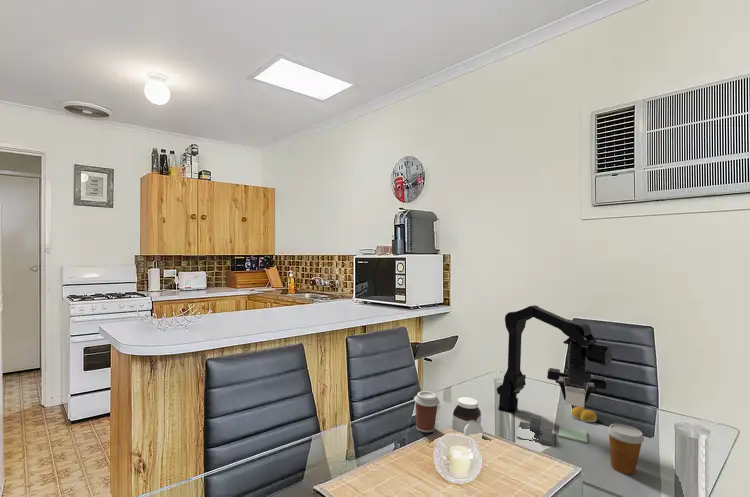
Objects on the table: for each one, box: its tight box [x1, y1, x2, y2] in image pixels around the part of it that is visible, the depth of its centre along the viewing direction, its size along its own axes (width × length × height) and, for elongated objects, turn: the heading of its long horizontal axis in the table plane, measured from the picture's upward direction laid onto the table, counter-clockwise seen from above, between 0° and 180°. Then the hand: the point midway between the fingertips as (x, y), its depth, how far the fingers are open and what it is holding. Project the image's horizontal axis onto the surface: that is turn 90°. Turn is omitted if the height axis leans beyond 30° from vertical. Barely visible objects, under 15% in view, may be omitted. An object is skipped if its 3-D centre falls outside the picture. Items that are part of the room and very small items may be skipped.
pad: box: [558, 424, 588, 444], centre depth 148 cm, size 9×9×1 cm
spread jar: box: [451, 396, 484, 436], centre depth 142 cm, size 12×11×12 cm
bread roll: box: [570, 406, 598, 423], centre depth 163 cm, size 8×9×4 cm
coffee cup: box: [413, 390, 441, 433], centre depth 147 cm, size 9×9×12 cm
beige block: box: [564, 385, 586, 408], centre depth 148 cm, size 6×6×4 cm
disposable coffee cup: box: [607, 423, 645, 475], centre depth 126 cm, size 10×10×12 cm
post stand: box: [518, 414, 554, 447], centre depth 146 cm, size 11×11×6 cm
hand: (574, 402), depth 148 cm, fingers closed on beige block, 6 cm apart
